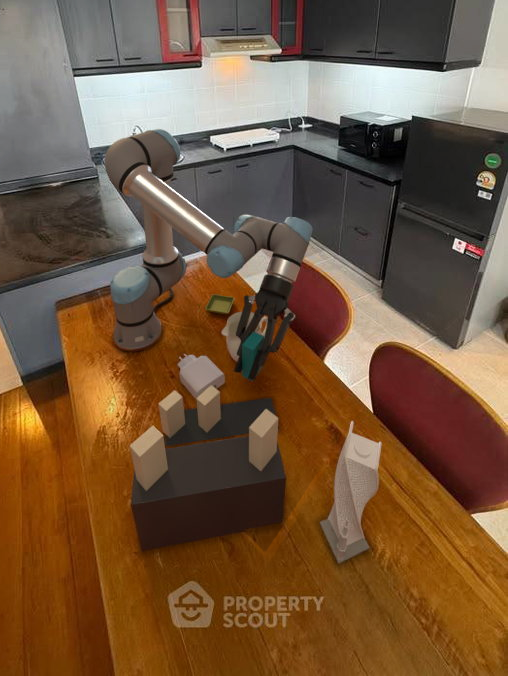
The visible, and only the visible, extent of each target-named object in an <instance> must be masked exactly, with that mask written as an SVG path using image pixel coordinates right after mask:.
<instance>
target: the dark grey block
mask: <svg viewBox="0 0 508 676" xmlns="http://www.w3.org/2000/svg"><path fill="white" fill-rule="evenodd" d="M196 399H197V400H196ZM196 399H195V400H196V407H194V408H188V409H185V407H184V398H183V396H182V395H181V394H180V393H178V391H177V390H175V389H174V390H173V391H172V392H170V393H169V394H168V395H167V396H166V397H165V398H163V399H162V400H161V401H160V402H158V410H159V417H160V424H161V431H162V432H163V434H165V441H164V445H165V447H171V446H177V445H183V444H189V443H197V442H203V441H210V440H215V439H216V440H217V439H223V438H229V437H234V436H235V437H236V436H241V435H242V436H243V435H247V434H248V435H249V427H250V426H251V425H252V424H253V422H254V421H255V420H256V419H257V418H258V417H259V416H260V415H261V414H262V413H263V411H264V410H265V409H267V410H268V411H270V412H271V413H272V414H274V415H275V416H276V417H277V414H276V410H275V407H274V402H273V398H272V397H265V398H259V399H251V400H250V399H249V400H243V401H238V402H237V401H236V402H229V403H223V404H221V391H219V390H218V388H217V389H216V388H214V387H213V386H212V385H211V386H210V387H209V388H207V389H206V390H205V391H204V392H203V393H202V394H201V395H200V396H199V397H197V398H196ZM278 430H280V427H279V425H278Z"/></svg>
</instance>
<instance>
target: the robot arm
mask: <svg viewBox="0 0 508 676" xmlns="http://www.w3.org/2000/svg"><path fill="white" fill-rule="evenodd" d="M180 158H181V149H180V145H179V143H178V141H177V140H176V138H174V137H173V134H171V133H170V132H168V131H167V130H165V129H161V128H156V129H148V130H145V131H144V132H139V133H136V134H132V135H130V136H127V137H122V138H120V139H118V140H116V141H114V142H113V143H112V144H111V145H110V146H109V147H108V149H107V151H106V152H105V157H104V169H105V172H106V175H107V177H108V179H109V181H110V182H111V184H112V185H113V187H115V188H116V189H117V190H118V191H119V192H121V194H123V195H124V196H126V197H130V198H131V197H133V198H134V199H136V200H137V201H138V202H139V203H141V209H142V220H143V228H144V235H145V236H144V237H145V247H146V249H144V250H143V252H142V265H131V266H129V267H124V268H122V269H121V270H119V271H117V272H116V273H115V275H113V276H112V278H111V281H110V284H109V285H110V287H109V288H110V298H111V300H112V304H113V311H114V316H115V319H116V320H115V324H114V328H113V333H112V338H113V342H114V344H115V346H116V348H118V349H119V350H121V351H124V352H127V353H137V352H143V351H145V350H147V349H150V348H151V347H153V346H154V345H155V344H156V343H157V342H158V341H159V340H160V339H161V336H162V333H163V328H162V323H161V320H160V319H159V317H158V315H156V313H155V310H156V309H157V308H158V307H160V306H162V305H164V304H165V303H167V302H169V301H171V299H172V298H173V296H174V291H173V289H172V288H173V287H174V286H175V285H177V284H178V283H180V281H181V280H183V278H184V277H185V275H186V272H187V266H188V264H187V261H186V259H185V258H184V257H183V256H184V255H183V254H182V253H181V252H180V251H179V250H178V248H177V247H175V246H174V237H173V229H174V231H176V232H178V233H179V234H180V235H181V236H183V238H185V239H186V240H187V241H188V242H190V243H191V244H192V245H194V246H195V247H197V248H198V249H199V250H200V251H202V253H204V254H205V255H206V265H207V267H208V268H209V270H210V272H211V273H212V274H213V275H214V276H216V277H219V278H221V279H228V278H230V277H232V276H233V275H235V274H236V273H238V272H239V271H240V270H241V269H243V267H244V266H245V265H246V264H247V263H248V262H249V261H251V259H252V258H253V257H255V256H256V255H257V254H258V253H260V251H261V250H265V251H269V252H272V254H271V258H270V260H269V261H268V265H267V268H266V270H265V272H266V273H267V274H264V276H263V278H262V281H261V283H260V286H259V290H258V291H257V292H256V294H255V295H248V294H245V295H244V296H243V308H242V311H241V312H242V314H241V317H240V321H239V324H238V327H237V331H236V336H237V337H239V339H240V340H241V343H240V345H239V348H238V351H237V355H238V356H239V358H238V361H237V362H236V364H235V367H234V369H233V372H234V373H237V374H238V373H241V374H242V345H243V343H244V342H245V341H246V340H247V338H248V337H249V336H250V335H251V333H252V332H255V330H256V328H257V326H258V324H259V322H260V321H261V319H262V318H263V317H265V316H266V317H267V318H268V323H267V328H266V332H265V337H264V342H263V346H262V348H261V350H258V352H257V354H256V357H255V360H254V363H253V365H252V368H251V371H250V374H249V376H248V379H247V380H249V379H250V380H249V381H251V380H254V381H255V380H256V378H257V376H258V375H257V372H258V369H259V366H262V367H263V368H264V366H265V364H266V361H267V359H268V355H269V354H272V353H273V354H274V353H275V354H276V353H278V352H279V350H280V347H281V345H282V343H283V341H284V339H285V336H286V334H287V332H288V330H289V327H290V325H291V323H292V322H293V321H294V320H295V319H296V318H297V316H296V314H295V313H294V312H292V311H291V309H289V300H290V298H291V294H292V292H293V289H294V283H296V281H297V278H298V275H299V273H300V270H301V266H302V263H303V261H304V259H305V256H306V253H307V250H308V248H309V246H310V241H311V239H312V234H313V231H314V229H313V226H312V225H311V224H310V223H309V222H308V221H307V220H304V219H302V218H299V217H296V216H288V217H286V218H285V220H284V222H283V223H281V222H276V221H273V220H269V219H266V218H262V217H260V216H256V215H250V214H242V215H240V216H239V217H238V218H237V221H236V222H235V224H234V226H233V233H231V232H230V231H228V230H227V229H225V228H224V227H222V226H221V225H220V224H219V223H217V222H216V221H215V220H213V219H212V218H211V217H210V216H209V215H207V214H206V213H204V212H203V211H202V210H201V209H199V208H198V207H197V206H195V205H194V204H193V203H192V202H190V201H189V200H187V199H186V198H185V197H184V196H182V195H181V194H180V193H178V192H177V191H176V190H175V189H173V188H172V187H170V181H171V180H172V179H173V178H174V177H175V176H174V175H175V174H174V166H175V165H177V164H178V162H179V161H180ZM167 291H169V292H170V295H169V296H168V298H166V299H164V300H162V301H161V302H159V303H157V304H155V305H154V302H155V301H156V300H157V299H158V298H160V297H162V295H164V294H165V293H166V292H167ZM254 304H256V309H255V311H254V312H253V313H254V316H253V318H252V320H251V322H250V323H249V325H248V327H247V323H248V320H249V316H250V313H251V312H252V310H253V305H254ZM283 313H284V314H283ZM282 314H283V319H282V321H281V322H280V326H279V327H278V330H277V332H276V334H275V337H274V333H275V328H276V324H277V322H278V317H280V316H281V315H282ZM246 327H247V329H246ZM245 330H246V331H245ZM273 338H274V339H273ZM256 375H257V376H256ZM255 377H256V378H255Z"/></svg>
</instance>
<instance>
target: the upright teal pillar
mask: <svg viewBox="0 0 508 676" xmlns="http://www.w3.org/2000/svg"><path fill="white" fill-rule="evenodd" d="M263 342H264V336H262V335H260V334H258V333H256V332H252V333H251V335H250V336H249V337H248V338H247V340H246V341H245V342H244V343H243V345H242V371H241V376H242V377H243V378H245V379H246V380H249V381H251V382H254V381H255V380H250V379H248V376H249V374H250V371H251V368H252V365H253V363H254V360H255V357H256V354H257V352H258V350H261V348H262V346H263ZM263 368H264V366H263V367H262V366H259V369H258V372H257V375H256V377H255V379H256V378H257V376H258V375H259V373H260V372H261V371H262V369H263Z"/></svg>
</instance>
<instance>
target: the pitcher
mask: <svg viewBox="0 0 508 676" xmlns="http://www.w3.org/2000/svg"><path fill="white" fill-rule="evenodd" d="M254 313H255V312H252V311H251V313H250V316H249V320H248V323H247V327H248V325H249V323H250V322H251V320H252V318H253V316H254ZM241 314H242V311H238V312H235V313H233V314H232V315H230V316H229V317H228V318H227V320H226V325H225V327H223V328H222V330H221V335H222V336H224V337H225V341H226V348H227V351H228V353H229V355H230V357H231V358H232V359H233V361H234V362H236V363H237V361H238V358H239V356H238V355H237V351H238V348H239V345H240V343H241V340H240V339H239V337H237V336H236V331H237V327H238V324H239V321H240V317H241ZM264 322H265V327H264V330H263V331H262V328H263V323H264ZM267 323H268V316H264V317H263V318H262V319H261V321H260V322H259V324H258V326H257V328H256V330H255V332H256V333H258V334H260V335H262V336H264V337H265V332H266V328H267ZM247 327H246V329H247ZM245 331H246V330H245Z"/></svg>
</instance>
